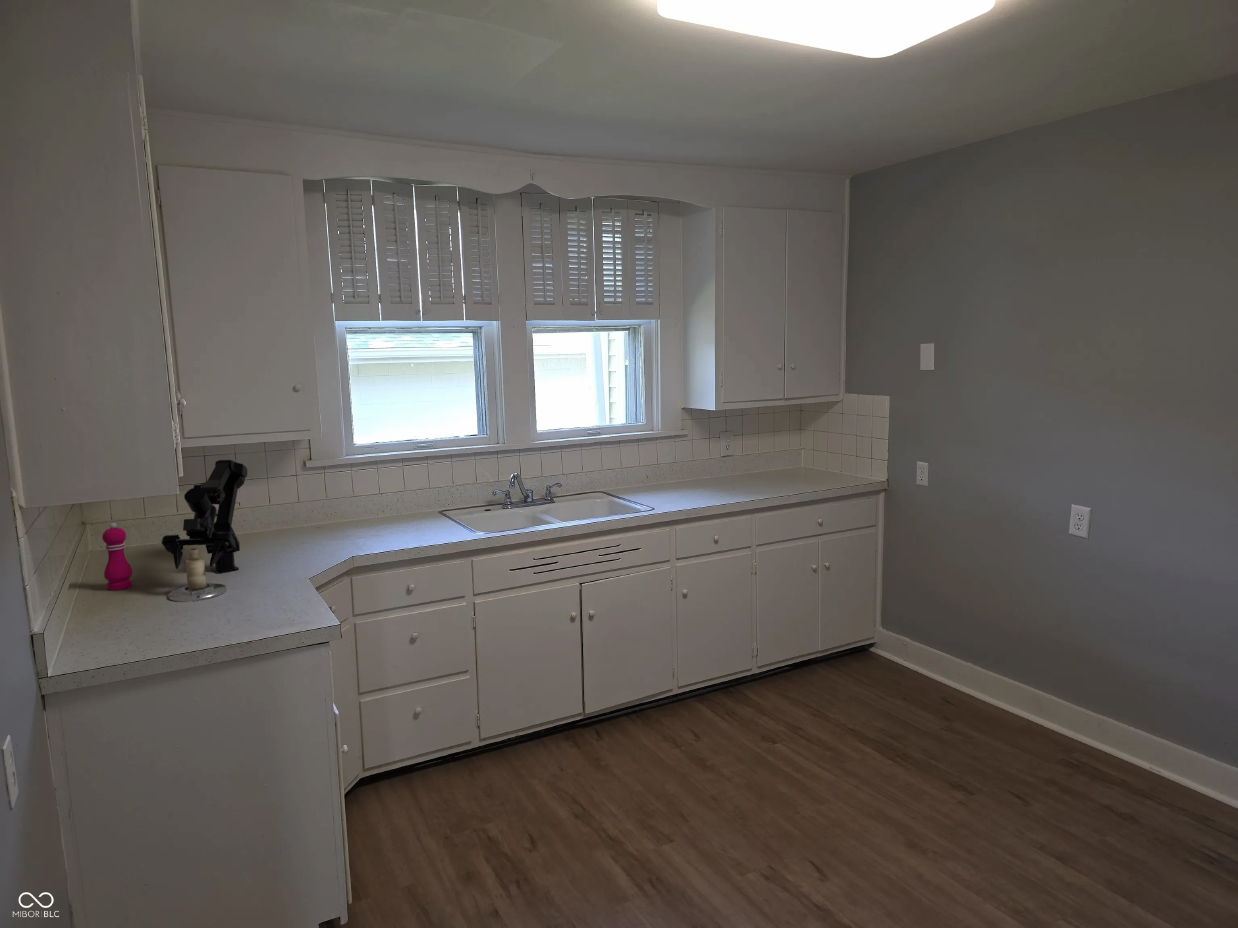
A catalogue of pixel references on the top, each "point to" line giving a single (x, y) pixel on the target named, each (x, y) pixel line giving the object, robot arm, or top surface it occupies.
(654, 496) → the top surface
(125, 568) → the pepper mill
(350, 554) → the top surface
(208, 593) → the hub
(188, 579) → the knob
